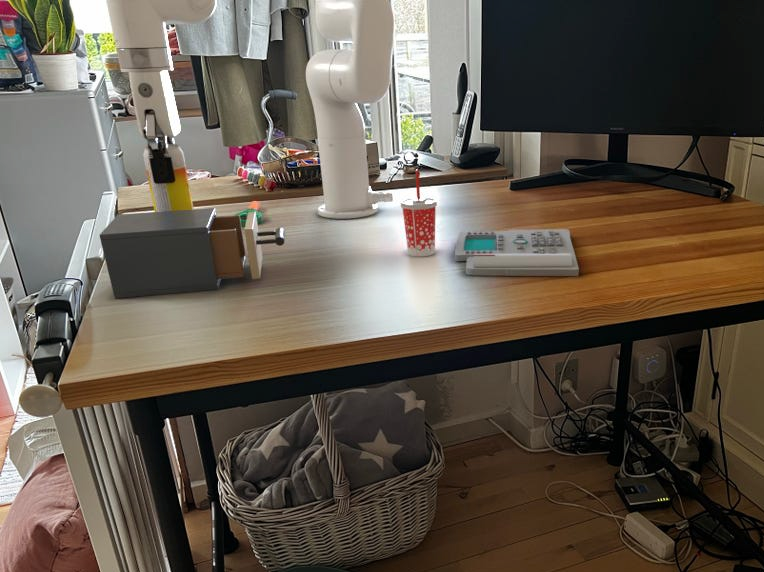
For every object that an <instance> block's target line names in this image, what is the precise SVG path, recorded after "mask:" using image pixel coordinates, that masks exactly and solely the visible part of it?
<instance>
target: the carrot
mask: <svg viewBox="0 0 764 572" xmlns="http://www.w3.org/2000/svg"><path fill="white" fill-rule="evenodd" d="M260 207H261V202H260V201H258V200H253V201H251V203H250V204H249V206H248V208H247V209H244V210H242V211H240V212H237V213H234V215H240V221H241V227H245V225H246V220H247V215H248V212H256V217H257V224H258V225H259V224H260V223H262V222H263V214H262V213H261V212H259V211H258V210H259V209H260Z"/></svg>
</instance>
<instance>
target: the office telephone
mask: <svg viewBox="0 0 764 572" xmlns="http://www.w3.org/2000/svg"><path fill="white" fill-rule="evenodd" d="M454 261H455V262H465V274H466V275H468V276H489V277H490V276H493V277H494V276H496V277H497V276H500V277H501V276H507V277H508V276H509V277H512V276H513V277H579V272H580V268H579V265H578V260H577V257H576V253H575V250H574V246H573V242H572V239H571V233H570V229H568V228H550V229H549V228H547V229H546V228H545V229H543V228H542V229H541V228H540V229H539V228H537V229H507V230H498V231H497V230H496V231H495V230H492V231H491V230H490V231H489V230H488V231H465V230H462V231H460V232H459V233H458V236H457V240H456V245H455V249H454Z"/></svg>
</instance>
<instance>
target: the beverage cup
mask: <svg viewBox="0 0 764 572" xmlns="http://www.w3.org/2000/svg"><path fill="white" fill-rule="evenodd" d="M415 184H416V185H415V186H416V196H412V197H407V198H403V199H401V200H400V201H399V202H400V207H401V209H402V215H403V223H404V231H405V239H406V247H407V254H408V255H409V256H412V257H419V258H420V257H428V256H429V257H430V256H432V255H434V254H435V252H436V207H437V206H438V200H437V199H436V197H435V198H434V197H429V196H421V192H420V191H421V190H420V174H419V170H418V169H415Z"/></svg>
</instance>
